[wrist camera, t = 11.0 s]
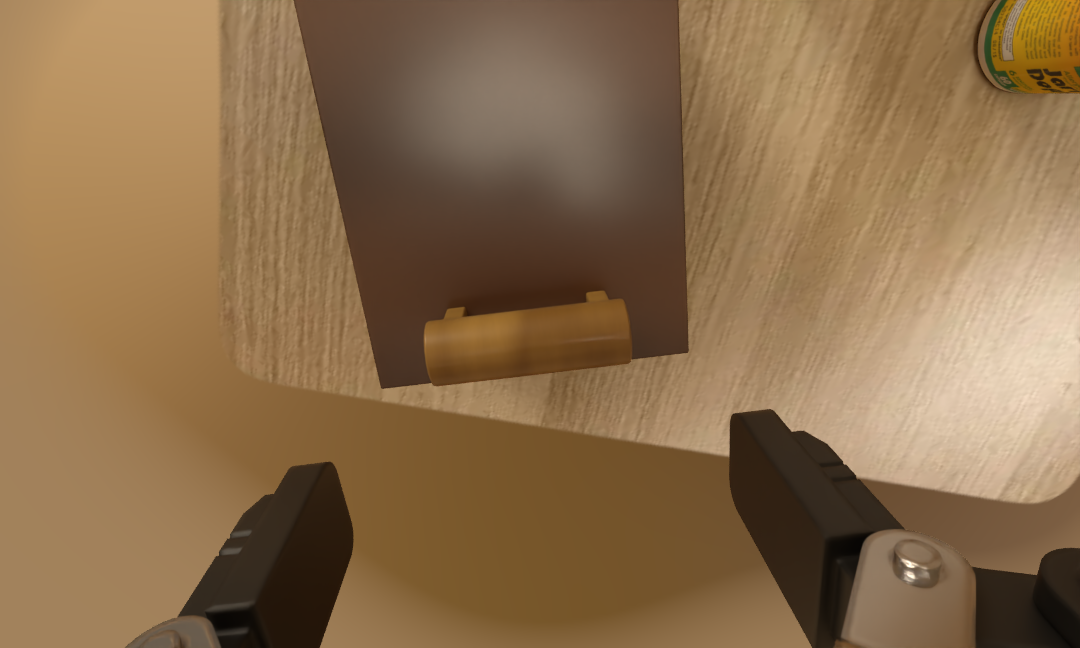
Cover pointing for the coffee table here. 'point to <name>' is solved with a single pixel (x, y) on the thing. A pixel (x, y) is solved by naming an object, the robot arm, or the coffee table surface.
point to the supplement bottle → (1032, 46)
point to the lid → (506, 180)
